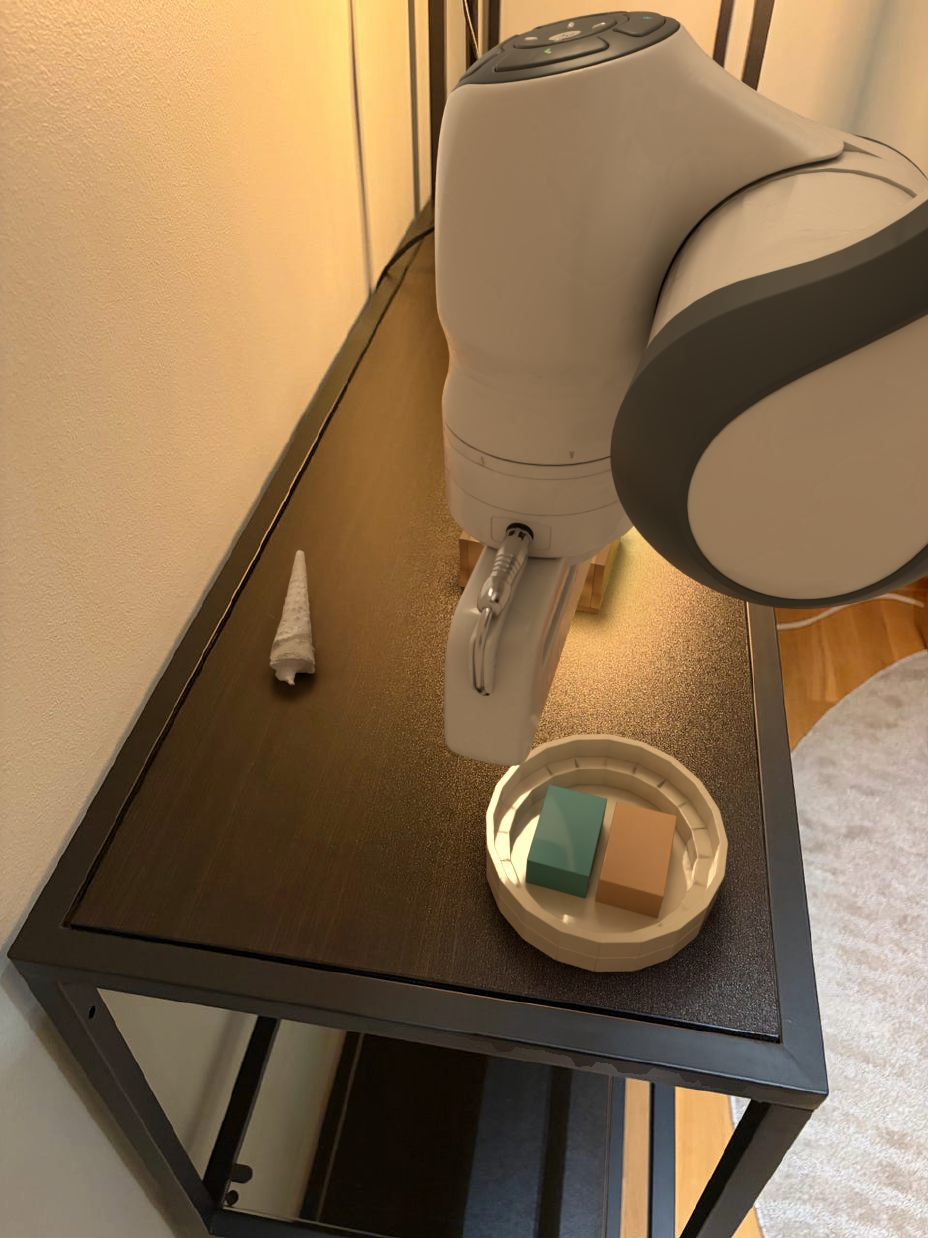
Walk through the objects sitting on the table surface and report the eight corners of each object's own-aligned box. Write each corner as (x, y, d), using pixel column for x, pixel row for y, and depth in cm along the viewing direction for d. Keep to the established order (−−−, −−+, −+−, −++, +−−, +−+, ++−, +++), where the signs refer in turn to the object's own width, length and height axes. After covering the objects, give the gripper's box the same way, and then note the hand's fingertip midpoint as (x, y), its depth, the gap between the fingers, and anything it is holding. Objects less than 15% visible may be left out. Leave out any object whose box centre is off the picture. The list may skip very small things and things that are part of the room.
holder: (620, 540, 82) (627, 492, 78) (598, 614, 75) (604, 565, 71) (493, 517, 85) (493, 469, 81) (460, 587, 78) (458, 538, 74)
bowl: (724, 801, 61) (737, 763, 58) (699, 1008, 51) (713, 975, 48) (518, 751, 65) (520, 713, 62) (457, 936, 55) (455, 901, 51)
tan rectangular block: (671, 838, 59) (677, 815, 57) (657, 919, 54) (664, 897, 53) (612, 823, 59) (616, 800, 58) (594, 902, 55) (598, 879, 53)
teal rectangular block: (603, 821, 60) (607, 798, 58) (585, 899, 56) (589, 877, 54) (546, 807, 61) (548, 783, 59) (525, 882, 56) (526, 860, 54)
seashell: (303, 702, 70) (321, 682, 68) (257, 688, 69) (274, 667, 66) (324, 572, 78) (341, 549, 76) (284, 557, 77) (300, 533, 74)
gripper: (563, 643, 30) (547, 855, 40) (653, 365, 44) (625, 571, 54) (393, 609, 31) (417, 821, 41) (532, 350, 45) (526, 554, 55)
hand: (535, 677), depth 47 cm, fingers open, 8 cm apart
